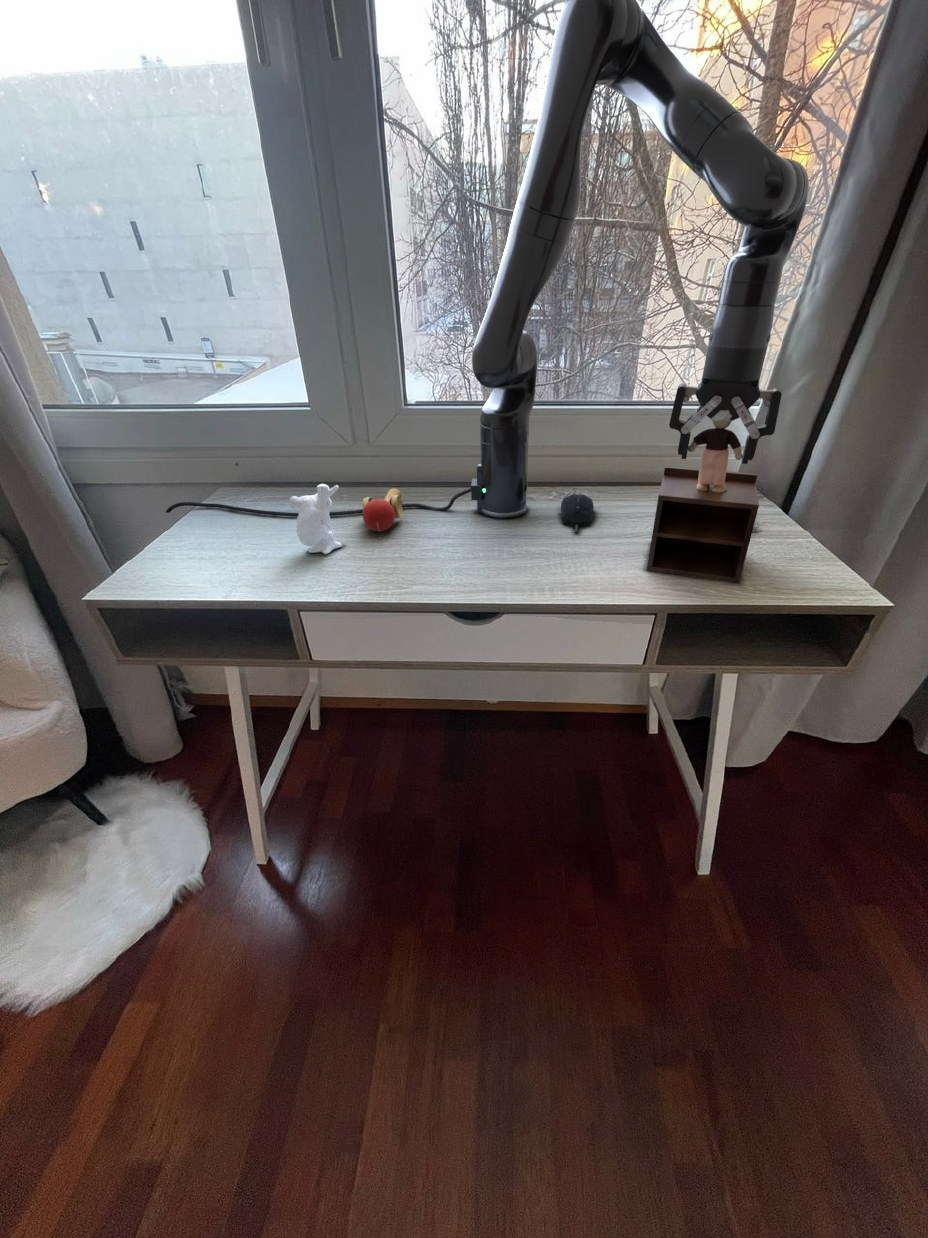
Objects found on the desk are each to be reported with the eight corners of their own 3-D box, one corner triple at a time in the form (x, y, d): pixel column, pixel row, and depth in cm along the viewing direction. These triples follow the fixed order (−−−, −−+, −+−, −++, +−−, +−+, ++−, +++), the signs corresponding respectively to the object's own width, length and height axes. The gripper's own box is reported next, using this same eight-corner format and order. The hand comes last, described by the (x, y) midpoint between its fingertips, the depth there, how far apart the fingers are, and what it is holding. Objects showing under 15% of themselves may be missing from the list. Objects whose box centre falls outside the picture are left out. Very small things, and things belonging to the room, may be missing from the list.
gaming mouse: (559, 532, 110) (560, 512, 107) (561, 504, 122) (562, 485, 120) (593, 534, 109) (595, 514, 106) (592, 505, 121) (594, 486, 119)
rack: (646, 570, 96) (659, 487, 89) (652, 543, 105) (665, 466, 97) (739, 583, 92) (761, 496, 84) (737, 554, 101) (757, 473, 93)
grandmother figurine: (733, 487, 92) (753, 401, 85) (734, 495, 89) (754, 407, 82) (681, 482, 94) (696, 398, 87) (680, 489, 91) (696, 404, 84)
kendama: (373, 508, 126) (352, 530, 109) (377, 478, 123) (355, 496, 107) (409, 514, 126) (393, 538, 109) (413, 485, 123) (397, 505, 107)
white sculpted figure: (349, 541, 108) (341, 477, 102) (343, 557, 102) (334, 490, 96) (303, 542, 108) (292, 478, 102) (294, 558, 102) (282, 492, 96)
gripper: (793, 340, 81) (763, 457, 90) (684, 337, 85) (666, 449, 94) (799, 347, 75) (766, 472, 84) (681, 344, 79) (662, 463, 88)
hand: (713, 460), depth 89 cm, fingers open, 8 cm apart
